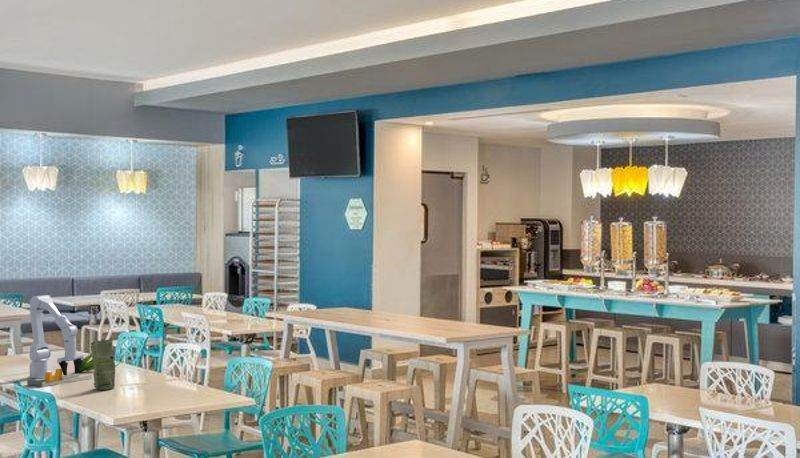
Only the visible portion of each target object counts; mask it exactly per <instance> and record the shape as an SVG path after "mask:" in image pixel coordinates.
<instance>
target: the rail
mask: <svg viewBox="0 0 800 458" xmlns="http://www.w3.org/2000/svg"><path fill="white" fill-rule="evenodd" d="M91 379H93V377H92V375H91V374H90V375H86V376H80V373H78V374H76V373H74V374H67V375H66V376H65V375H62V380H60V381H54V382H48V383H45V378H41V379H34V378H27V380H26V384H27V386H30V387H31V386H32V387H37V388H45V387H50V386H57V385H62V384H63V385H64V384H67V383H68V384H69V383H73V382H79V381H86V380H91Z"/></svg>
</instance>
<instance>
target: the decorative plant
mask: <svg viewBox="0 0 800 458" xmlns="http://www.w3.org/2000/svg"><path fill="white" fill-rule="evenodd" d="M116 348H117V346H116V347H114V348H113V347H112V350H115V349H116ZM120 354H121V355H122V352H121V353H116V354H114V355H113V357H114V358H115V357H116V356H117V355H120ZM91 358H92V352H91V353H89V354H88V355H86V356H85V357H84V359H81V360H83V362H82V363H81V366H80V368H79V372H78V374H80V373H83V372H90V371H92V370H93V371H94V368H93V366H92V365H93V359H91ZM90 359H91V360H90ZM122 363H126V361H121V362H118V363H117V364H115V368H117V367H118V366H119V365H120V364H122ZM128 363H130V362H129V361H128ZM130 364H131V363H130Z"/></svg>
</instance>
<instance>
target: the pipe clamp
mask: <svg viewBox="0 0 800 458" xmlns="http://www.w3.org/2000/svg"><path fill="white" fill-rule="evenodd" d="M62 376H63V372H62V369H61V368H56V369H55V372H54V374H53V372H52V371H48V372H46V373H45V378H44V379H45V382H44V383H48V382H54V381H60V380H63V379H62Z"/></svg>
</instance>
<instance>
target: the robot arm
mask: <svg viewBox="0 0 800 458" xmlns="http://www.w3.org/2000/svg"><path fill="white" fill-rule="evenodd" d="M45 310H46V311H47V312H49V314H50V315H51V316H52V317H53V318H54V319H55V324H56V325H57V326H58V328H59V329H60V330H61V335H62V336H63V341H64V356H63V357H60V358H57V360H56V362H57V363H58V365H59V367H60V369H62V376H66V375H68V367H69V366H68V365H69V362H70V361H72V362H73V367H74V369H73V370H74V374H79V368H80V366H81V363H82V362H83V360H82V359H84V358H85V357H84V355H83V354H80V355H79V354H77V336H78V334H79V328H78V326H77V325H75V324H72V323H71V322H70V320H69V319H68V318H67V315H64V314H61V313H60V311H59V310H58V308H57V307H56V305H55V304H54V299H53V298H52V297H51V295H50V294H45V295H35V296H34V295H33V296H32V297H31V298H30V300H29V315H30V323H31V333H32V342H33V343H32V344H31V346H30V347H29V358H30V360H31V362H30V363H29V375H28V377H27V378H29V379H35V380H41V379H45V373H46V372H49V371H48V361H49V358H50V357H51V355H52V354H51V353H52V352H51V350H50V347H49V346H50V345H49V344H48V343H47V342H45V335H44V326H43V318H42V313H43V312H44V311H45Z"/></svg>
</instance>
